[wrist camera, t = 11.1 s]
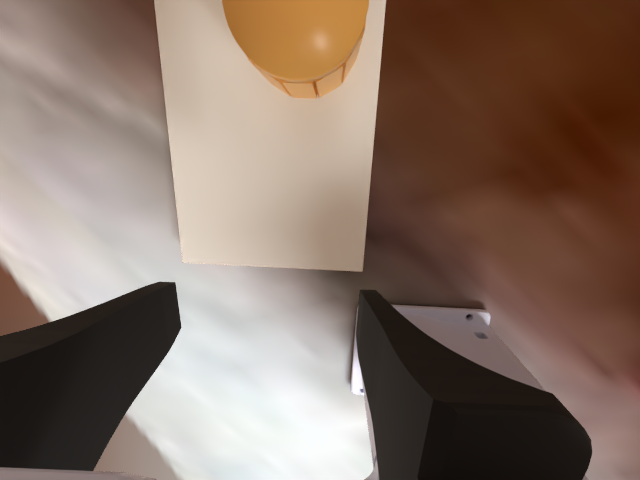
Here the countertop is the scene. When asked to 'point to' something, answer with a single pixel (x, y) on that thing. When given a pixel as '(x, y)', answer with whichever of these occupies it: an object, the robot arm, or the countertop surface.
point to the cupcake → (299, 40)
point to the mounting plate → (265, 149)
